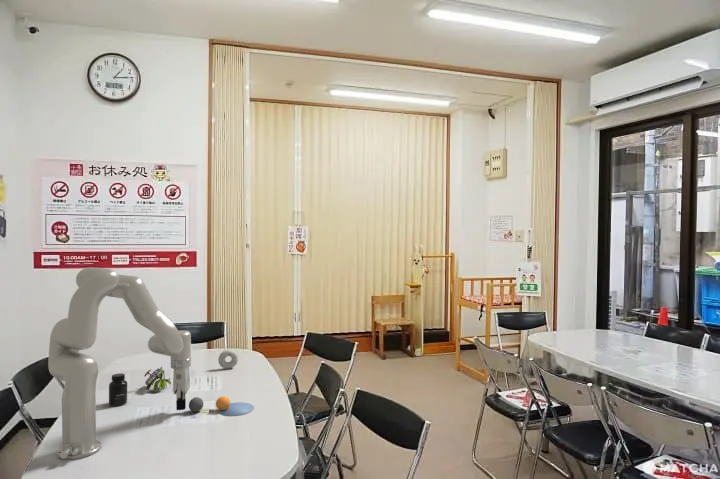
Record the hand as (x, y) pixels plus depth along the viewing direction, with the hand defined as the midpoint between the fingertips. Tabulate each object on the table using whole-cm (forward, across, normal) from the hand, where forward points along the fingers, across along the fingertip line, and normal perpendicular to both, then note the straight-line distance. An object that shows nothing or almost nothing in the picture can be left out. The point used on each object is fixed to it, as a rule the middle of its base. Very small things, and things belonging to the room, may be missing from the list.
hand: (181, 409), depth 191 cm
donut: (+2, +58, -14) cm, 60 cm away
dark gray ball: (-1, 0, -6) cm, 6 cm away
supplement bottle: (+2, +15, +27) cm, 31 cm away
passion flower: (+2, +32, +15) cm, 35 cm away
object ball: (-1, 0, -16) cm, 16 cm away
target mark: (+2, 0, -21) cm, 21 cm away
